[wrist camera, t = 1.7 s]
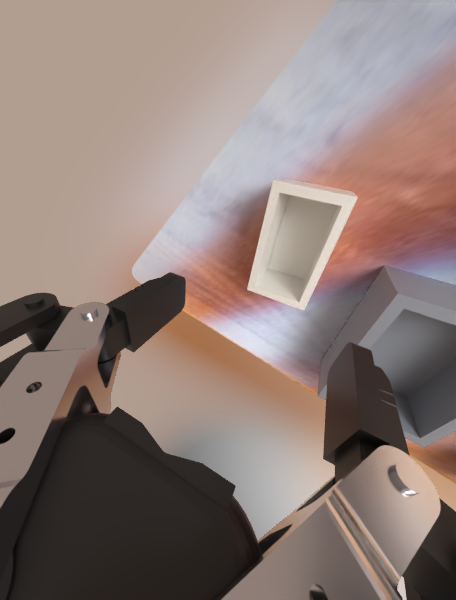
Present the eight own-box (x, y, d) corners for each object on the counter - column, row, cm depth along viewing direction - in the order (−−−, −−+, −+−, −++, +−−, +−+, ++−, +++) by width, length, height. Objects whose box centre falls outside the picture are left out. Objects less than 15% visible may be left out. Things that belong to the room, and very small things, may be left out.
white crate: (263, 268, 26) (247, 289, 21) (288, 178, 20) (273, 180, 15) (310, 284, 24) (303, 310, 19) (352, 191, 18) (357, 197, 13)
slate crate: (320, 360, 28) (317, 396, 24) (383, 265, 20) (397, 293, 15) (408, 397, 25) (424, 447, 21) (529, 306, 17) (602, 356, 12)
